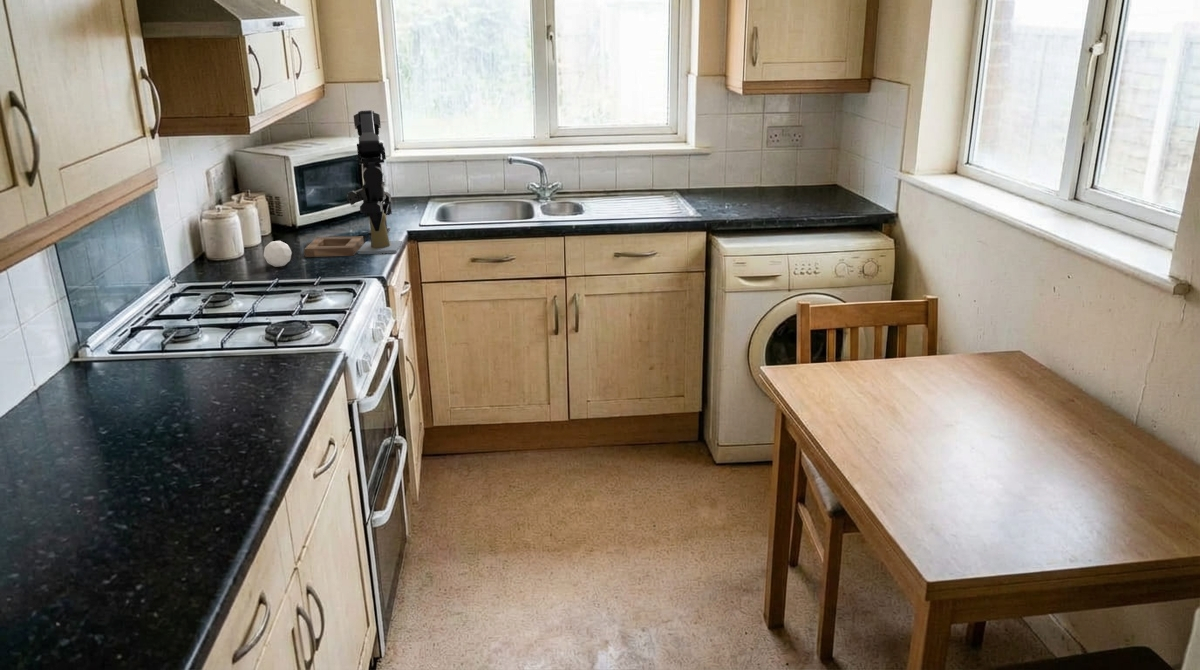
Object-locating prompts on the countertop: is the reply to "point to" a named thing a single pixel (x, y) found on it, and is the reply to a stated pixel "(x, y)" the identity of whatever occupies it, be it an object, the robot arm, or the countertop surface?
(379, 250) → the mat
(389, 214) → the robot arm
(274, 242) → the ball
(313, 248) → the pocket frame
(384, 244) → the cork
